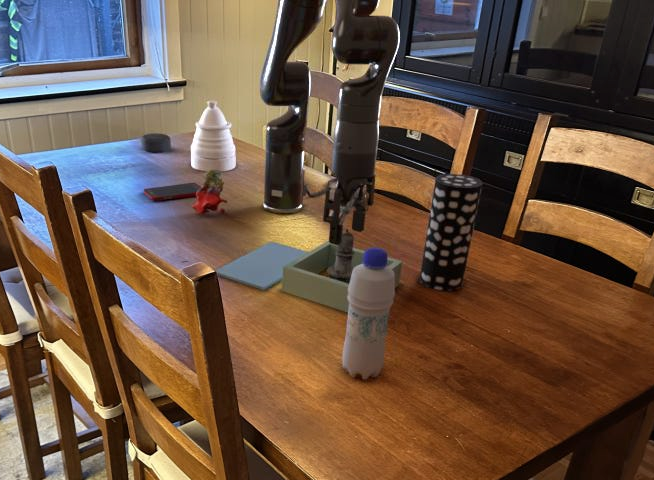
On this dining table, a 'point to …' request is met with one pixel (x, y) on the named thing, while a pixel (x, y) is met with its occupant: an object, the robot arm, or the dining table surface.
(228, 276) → the drying mat
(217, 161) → the honey pot
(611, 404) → the dining table surface
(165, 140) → the smart speaker
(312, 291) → the green rectangular frame
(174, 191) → the cell phone
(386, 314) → the bottle
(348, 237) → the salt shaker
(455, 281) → the spotted tube
